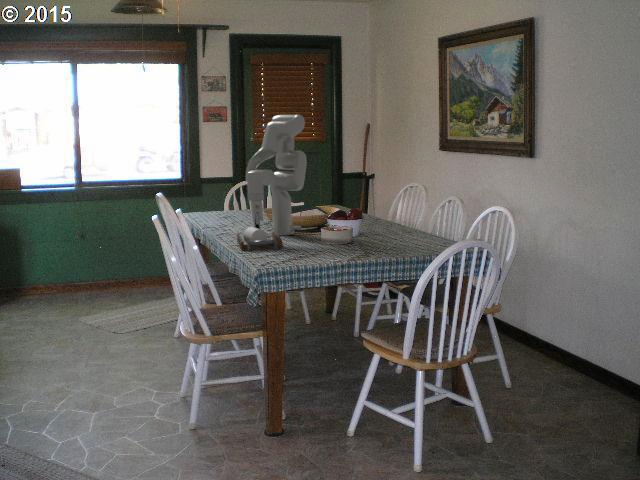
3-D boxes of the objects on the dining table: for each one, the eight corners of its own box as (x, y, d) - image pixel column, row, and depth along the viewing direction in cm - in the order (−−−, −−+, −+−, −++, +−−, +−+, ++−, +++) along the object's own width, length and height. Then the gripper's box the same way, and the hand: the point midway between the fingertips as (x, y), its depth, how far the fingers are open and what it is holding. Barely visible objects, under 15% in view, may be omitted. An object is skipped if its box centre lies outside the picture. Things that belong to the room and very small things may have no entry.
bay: (275, 239, 375) (274, 230, 374) (283, 249, 345) (282, 240, 345) (237, 241, 371) (236, 232, 371) (241, 251, 342) (241, 241, 341)
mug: (251, 247, 353) (251, 230, 352) (243, 244, 362) (242, 227, 360) (275, 245, 358) (275, 227, 357) (266, 242, 367) (266, 225, 366)
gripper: (265, 198, 357) (266, 237, 360) (262, 195, 372) (263, 233, 375) (249, 199, 356) (250, 238, 359) (246, 196, 370) (247, 233, 373)
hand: (257, 235), depth 367 cm, fingers closed
